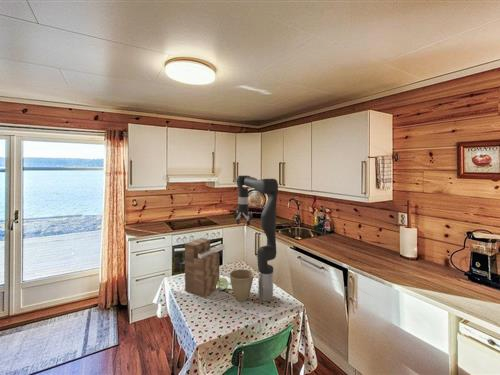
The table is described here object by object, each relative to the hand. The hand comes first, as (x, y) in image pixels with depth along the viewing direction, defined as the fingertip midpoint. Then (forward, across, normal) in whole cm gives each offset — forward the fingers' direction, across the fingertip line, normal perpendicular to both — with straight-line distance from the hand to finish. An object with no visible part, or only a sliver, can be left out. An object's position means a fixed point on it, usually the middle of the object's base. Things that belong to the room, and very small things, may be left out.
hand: (243, 225), depth 180 cm
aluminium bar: (+16, -10, -23) cm, 30 cm away
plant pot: (+40, +14, -24) cm, 49 cm away
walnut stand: (+40, -14, -28) cm, 51 cm away
